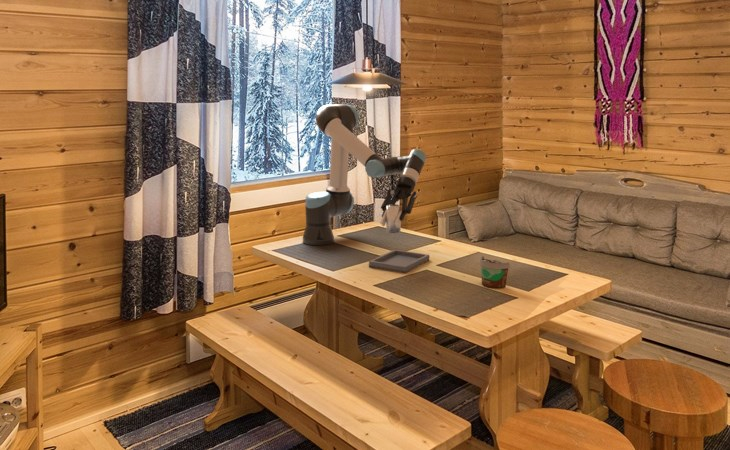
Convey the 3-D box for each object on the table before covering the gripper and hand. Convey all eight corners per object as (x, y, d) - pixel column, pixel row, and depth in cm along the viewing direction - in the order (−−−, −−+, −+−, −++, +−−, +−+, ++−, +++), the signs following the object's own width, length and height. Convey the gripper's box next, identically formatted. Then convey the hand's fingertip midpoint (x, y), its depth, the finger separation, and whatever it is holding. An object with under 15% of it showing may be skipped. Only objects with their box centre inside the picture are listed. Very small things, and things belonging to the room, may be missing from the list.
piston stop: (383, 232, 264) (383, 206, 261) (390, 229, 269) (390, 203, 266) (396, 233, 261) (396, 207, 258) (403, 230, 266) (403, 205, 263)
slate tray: (368, 266, 261) (368, 261, 261) (394, 254, 280) (394, 249, 279) (405, 273, 253) (405, 267, 252) (429, 260, 271) (429, 254, 270)
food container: (471, 284, 239) (472, 259, 236) (481, 281, 243) (482, 255, 241) (499, 292, 230) (500, 265, 228) (508, 288, 234) (510, 262, 232)
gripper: (430, 187, 269) (412, 232, 259) (391, 184, 279) (373, 228, 269) (424, 176, 263) (406, 222, 253) (385, 174, 273) (366, 218, 263)
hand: (389, 225), depth 261 cm, fingers closed on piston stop, 6 cm apart
